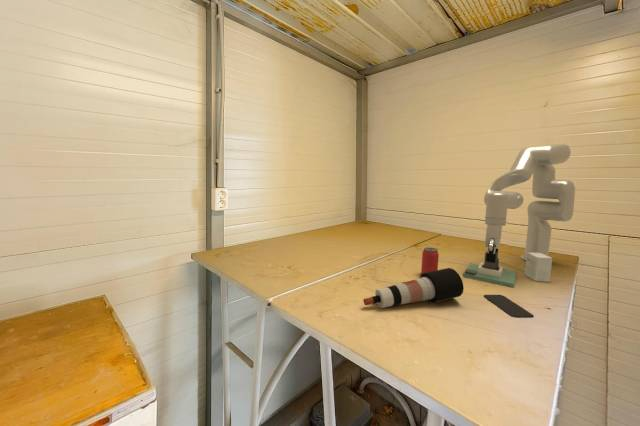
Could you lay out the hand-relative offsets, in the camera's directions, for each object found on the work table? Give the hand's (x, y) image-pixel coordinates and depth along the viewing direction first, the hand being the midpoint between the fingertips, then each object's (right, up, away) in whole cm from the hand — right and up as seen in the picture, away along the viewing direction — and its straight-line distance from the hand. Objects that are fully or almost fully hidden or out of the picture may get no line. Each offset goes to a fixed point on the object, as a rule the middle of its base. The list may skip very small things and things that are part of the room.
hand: (491, 259), depth 116 cm
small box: (+18, -8, -2) cm, 20 cm away
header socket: (0, -6, +1) cm, 6 cm away
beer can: (-27, -7, +1) cm, 28 cm away
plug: (0, -6, +1) cm, 6 cm away
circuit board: (0, -7, +1) cm, 7 cm away
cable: (-45, -11, -25) cm, 52 cm away
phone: (-12, -12, -26) cm, 31 cm away
